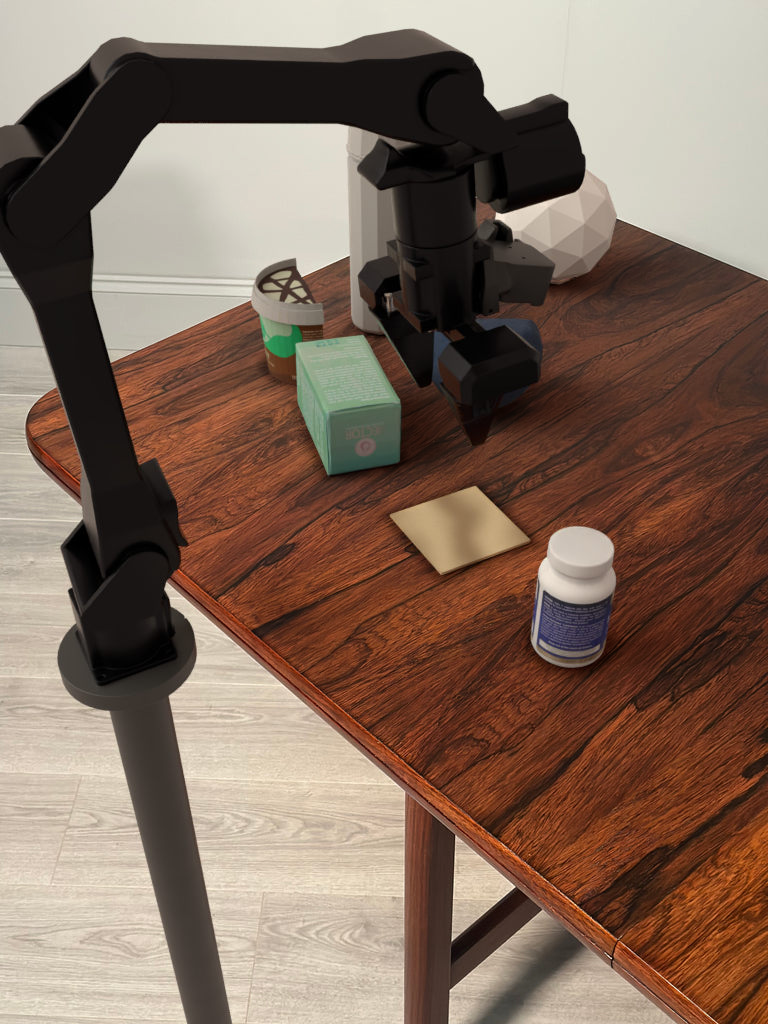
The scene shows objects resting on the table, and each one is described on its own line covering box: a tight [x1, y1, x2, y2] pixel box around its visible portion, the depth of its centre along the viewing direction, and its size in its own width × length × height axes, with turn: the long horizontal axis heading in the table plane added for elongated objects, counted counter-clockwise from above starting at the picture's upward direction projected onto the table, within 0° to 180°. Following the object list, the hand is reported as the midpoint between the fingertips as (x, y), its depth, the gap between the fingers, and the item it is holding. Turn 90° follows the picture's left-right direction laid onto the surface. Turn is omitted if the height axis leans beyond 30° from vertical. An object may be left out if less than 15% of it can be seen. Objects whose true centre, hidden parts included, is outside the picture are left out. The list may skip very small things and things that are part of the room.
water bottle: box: [345, 126, 410, 336], centre depth 115 cm, size 9×8×25 cm
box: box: [296, 334, 402, 476], centre depth 101 cm, size 7×14×8 cm, turn 17°
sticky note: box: [389, 485, 532, 576], centre depth 92 cm, size 9×9×1 cm
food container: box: [250, 257, 325, 386], centre depth 111 cm, size 12×6×10 cm, turn 17°
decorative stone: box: [432, 317, 544, 409], centre depth 105 cm, size 12×12×10 cm
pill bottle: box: [530, 525, 617, 669], centre depth 78 cm, size 6×6×10 cm
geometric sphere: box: [494, 168, 618, 285], centre depth 128 cm, size 14×15×15 cm
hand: (450, 414), depth 82 cm, fingers open, 9 cm apart
